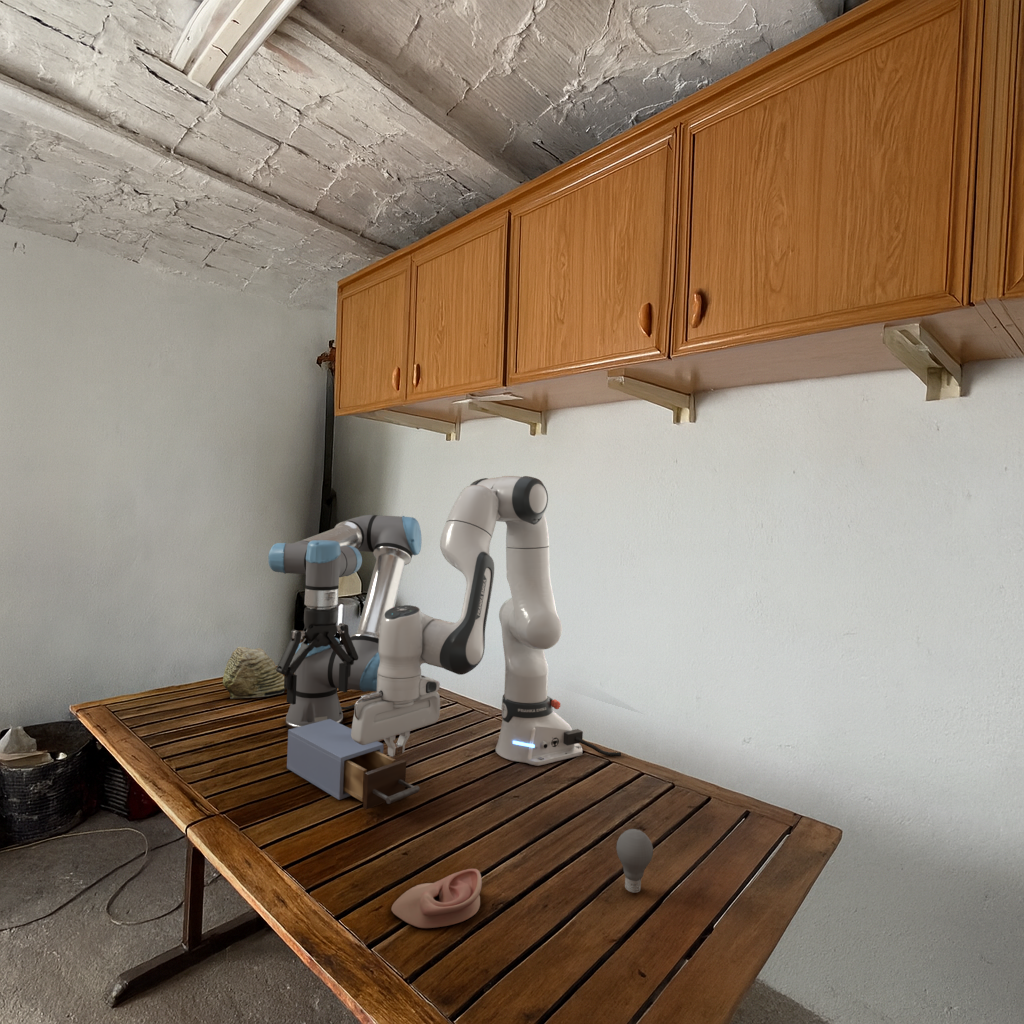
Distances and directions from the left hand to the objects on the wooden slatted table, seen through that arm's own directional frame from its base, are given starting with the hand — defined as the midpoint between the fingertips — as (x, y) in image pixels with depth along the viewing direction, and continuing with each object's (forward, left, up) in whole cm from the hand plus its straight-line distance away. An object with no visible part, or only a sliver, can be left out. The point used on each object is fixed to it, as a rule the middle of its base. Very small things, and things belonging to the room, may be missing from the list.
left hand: (317, 696), depth 149 cm
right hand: (+1, +30, -5) cm, 30 cm away
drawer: (+1, +20, -15) cm, 25 cm away
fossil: (-17, -58, -16) cm, 62 cm away
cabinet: (0, +8, -16) cm, 18 cm away
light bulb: (-8, +79, -16) cm, 81 cm away
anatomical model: (+17, +58, -16) cm, 62 cm away
